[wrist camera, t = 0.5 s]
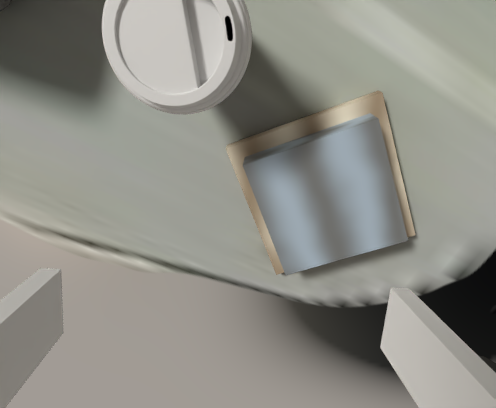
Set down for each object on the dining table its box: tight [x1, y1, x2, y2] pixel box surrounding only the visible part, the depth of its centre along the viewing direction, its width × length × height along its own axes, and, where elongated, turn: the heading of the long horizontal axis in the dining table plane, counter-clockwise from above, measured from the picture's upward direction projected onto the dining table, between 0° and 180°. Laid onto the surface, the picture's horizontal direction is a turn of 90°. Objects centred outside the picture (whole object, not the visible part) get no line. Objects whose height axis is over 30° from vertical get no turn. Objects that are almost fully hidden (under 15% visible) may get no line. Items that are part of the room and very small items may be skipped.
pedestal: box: [226, 91, 415, 275], centre depth 39 cm, size 16×16×4 cm
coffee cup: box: [102, 0, 252, 114], centre depth 29 cm, size 10×10×15 cm
